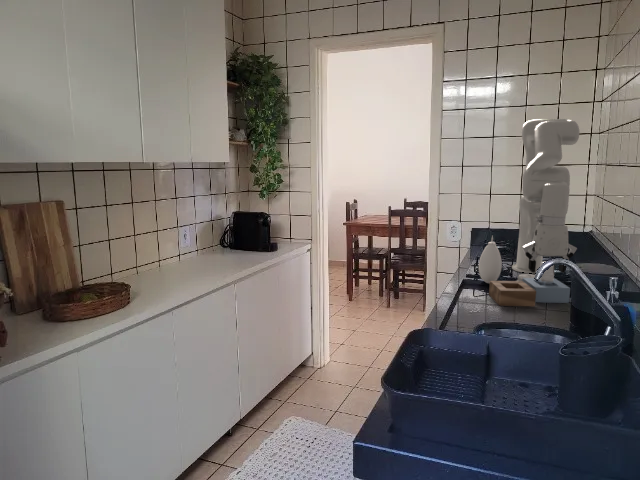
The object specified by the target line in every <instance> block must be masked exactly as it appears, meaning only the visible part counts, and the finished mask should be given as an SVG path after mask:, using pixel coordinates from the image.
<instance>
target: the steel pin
mask: <svg viewBox="0 0 640 480" xmlns="http://www.w3.org/2000/svg"><path fill="white" fill-rule="evenodd" d="M546 261H547V260H542V261H541V263H540V266H541V265H542V264H543V263H544V262H546ZM555 268H556V264H555V265H553V266H551V267H550V268H549V269H548V270H546V271H545V272H544V274H543V275H542V277H541V278H540V279H539V283H538V284H539V285H548V286H553V280H554V279H555V277H554V276H555V272H556V271H555V270H556V269H555Z"/></svg>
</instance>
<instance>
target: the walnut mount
mask: <svg viewBox="0 0 640 480" xmlns="http://www.w3.org/2000/svg"><path fill="white" fill-rule="evenodd" d="M488 296H489V297H490V298H491V299H492V300H493V301H494V302H495V303H496V304H497V305H498V306H500V307H536V302H535V299H536V291H535V290H534V289H533V288H531V287H530V286H528V285H527V284H526V283H524V282H523V281H517V280H496V281H490V284H489V288H488Z"/></svg>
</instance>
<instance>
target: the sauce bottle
mask: <svg viewBox="0 0 640 480" xmlns="http://www.w3.org/2000/svg"><path fill="white" fill-rule="evenodd" d="M493 236H494V235H491V241H489V242H488V243H487V245H486V246H485V247H484V248H483V251H482V253H481V255H480V258H479V261H478V262H479V263H478V273H479V277H480V279H482V280H483V282H485V283H486V284H489V285H490V281H498V279H499V277H500V275H501V272H502V266H503V265H502V264H503V263H502V256H501V253H500V250H499V249H498V247H497V245H496V244H497V243H496V242H495V241H494V237H493Z"/></svg>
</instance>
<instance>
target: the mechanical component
mask: <svg viewBox="0 0 640 480" xmlns="http://www.w3.org/2000/svg"><path fill="white" fill-rule="evenodd" d="M517 275H518V277H517V280H516V281H522V280H523V278H534V277H535V275H536V274H529V273H520V274H517Z"/></svg>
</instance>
